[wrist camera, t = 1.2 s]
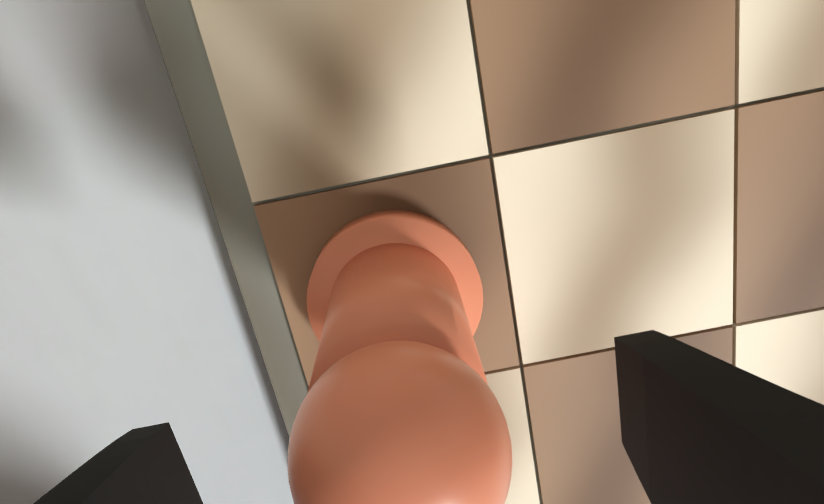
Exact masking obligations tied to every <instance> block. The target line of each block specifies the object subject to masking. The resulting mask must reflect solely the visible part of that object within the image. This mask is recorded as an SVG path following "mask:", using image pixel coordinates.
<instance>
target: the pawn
mask: <svg viewBox="0 0 824 504" xmlns="http://www.w3.org/2000/svg"><path fill="white" fill-rule="evenodd" d="M482 309H483V288H482V283H481V279H480V275H479V273H478V270H477V268H476V265H475V263H474V261H473V258H472V256H471V254H470V252H469V251H468V249H467V247H466V246H465V244H464V243H463V242H462V241H461V239H460V238H459V237H458V236H457V235H456V234H455V233H454V232H453V231H452V230H451V229H449V228H448V227H447V226H445V225H444V224H442V223H441V222H439V221H437V220H435V219H433V218H431V217H428V216H426V215H423V214H420V213H416V212H412V211H403V210H387V211H379V212H375V213H371V214H367V215H364V216H362V217H360V218H357V219H355V220H353V221H351V222H350V223H348V224H346V225H345V226H344V227H342V228H341V229H340V230H338V231H337V232H336V233H335V234H334V235H333V236H332V237H331V238H330V239H329V240H328V242H327V243H326V244H325V246H324V247H323V248H322V250H321V252H320V254H319V256H318V258H317V260H316V263H315V265H314V268H313V271H312V274H311V276H310V279H309V284H308V288H307V312H308V316H309V321H310V324H311V326H312V329H313V331H314V333H315V335H316V337H317V339H318V341H319V342H320V343H319V347H318V352H317V356H316V360H315V364H314V368H313V372H312V376H311V380H310V384H309V389H308V393H307V395H306V397H305V398H304V400H303V402H302V403H301V405H300V408H299V410H298V413H297V415H296V418H295V420H294V423H293V426H292V430H291V434H290V439H289V446H288V458H287V462H288V478H289V484H290V489H291V493H292V497H293V501H294V504H505V501H506V498H507V495H508V491H509V487H510V481H511V474H512V446H511V439H510V434H509V430H508V426H507V422H506V419H505V416H504V414H503V411H502V409H501V407H500V405H499V402H498V400H497V398H496V397H495V395H494V394H493V392H492V390H491V389H490V388H489V386H488V384H487V380H486V376H485V373H484V370H483V367H482V363H481V360H480V357H479V354H478V351H477V347H476V344H475V341H474V338H473V336H474V334H475V332H476V330H477V328H478V325H479V322H480V319H481V314H482Z"/></svg>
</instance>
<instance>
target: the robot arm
mask: <svg viewBox="0 0 824 504" xmlns="http://www.w3.org/2000/svg"><path fill="white" fill-rule="evenodd" d="M614 343H615V356H616V370H617V383H618V397H619V410H620V424H621V437H622V444H623V446H624V448H625V450H626V452H627V455H628V457H629V459H630V461H631V463H632V465H633V467H634V470H635V472H636V474H637V476H638V478H639V480H640V482H641V484H642V486H643V488H644V490H645V492H646V494H647V496H648V498H649V500H650V502H651V504H824V405H823V404H821V403H818V402H816V401H813V400H811V399H809V398H806V397H804V396H801V395H799V394H797V393H794V392H792V391H790V390H788V389H785V388H783V387H781V386H778V385H776V384H774V383H772V382H769V381H767V380H765V379H763V378H760V377H758V376H756V375H754V374H751V373H749V372H747V371H745V370H743V369H740V368H738V367H736V366H734V365H732V364H729V363H727V362H725V361H723V360H721V359H719V358H716V357H714V356H712V355H710V354H708V353H706V352H703V351H701V350H699V349H697V348H695V347H692V346H690V345H688V344H686V343H684V342H681V341H679V340H677V339H675V338H672V337H670V336H668V335H665V334H663V333H660V332H658V331H655V330H649V331H644V332H639V333H633V334H628V335H623V336H618V337H614ZM34 504H203V502H202V500H201V497H200V495H199V493H198V490H197V488H196V486H195V483H194V481H193V479H192V476H191V474H190V471H189V469H188V467H187V464H186V462H185V460H184V457H183V455H182V453H181V450H180V448H179V446H178V443H177V441H176V438H175V436H174V434H173V431H172V429H171V427H170V424H169V423H163V424H158V425H153V426H148V427H142V428H137V429H132V430H131V431H129V432H127V433H126V434H124V435H123V436H121V437H120V438H118V439H117V440H115V441H114V442H113V443H111V444H110V445H108V446H107V447H106V448H104V449H103V450H102V451H100V452H99V453H98V454H96V455H95V456H94V457H92V458H91V459H90V460H88V461H87V462H86V463H84V464H83V465H82V466H81V467H79V468H78V469H77V470H75V471H74V472H73V473H72V474H70V475H69V476H68V477H67V478H65V479H64V480H63V481H62V482H60V483H59V484H58V485H56V486H55V487H54V488H53V489H51V490H50V491H49V492H48V493H46V494H45V495H44V496H43V497H41V498H40V499H39V500H37V501H36V502H35V503H34Z"/></svg>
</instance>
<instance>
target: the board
mask: <svg viewBox="0 0 824 504" xmlns="http://www.w3.org/2000/svg"><path fill="white" fill-rule="evenodd" d="M144 2H145V5H146V8H147V11H148V14H149V17H150V20H151V23H152V26H153V29H154V32H155V35H156V38H157V41H158V44H159V47H160V50H161V53H162V56H163V59H164V62H165V65H166V68H167V71H168V74H169V77H170V80H171V83H172V86H173V89H174V92H175V95H176V98H177V101H178V104H179V107H180V110H181V113H182V116H183V119H184V122H185V125H186V128H187V131H188V134H189V137H190V140H191V143H192V146H193V149H194V152H195V155H196V158H197V161H198V164H199V167H200V170H201V173H202V176H203V179H204V182H205V185H206V188H207V191H208V194H209V198H210V201H211V204H212V207H213V210H214V213H215V216H216V219H217V222H218V225H219V228H220V231H221V234H222V237H223V240H224V243H225V246H226V249H227V252H228V255H229V258H230V261H231V264H232V267H233V270H234V273H235V276H236V279H237V282H238V285H239V288H240V291H241V294H242V297H243V300H244V303H245V306H246V309H247V312H248V315H249V318H250V321H251V324H252V327H253V330H254V333H255V336H256V339H257V342H258V345H259V348H260V351H261V354H262V357H263V360H264V363H265V366H266V369H267V372H268V375H269V378H270V381H271V384H272V387H273V390H274V393H275V396H276V399H277V402H278V405H279V408H280V411H281V414H282V417H283V420H284V423H285V426H286V429H287V432H288V435H289V438H290V434H291V430H292V426H293V423H294V420H295V418H296V415H297V413H298V410H299V408H300V405H301V403H302V402H303V400H304V398H305V397H306V395H307V393H308V389H309V384H310V380H311V376H312V372H313V368H314V364H315V360H316V356H317V352H318V347H319V343H320V342H319V341H318V339H317V337H316V335H315V333H314V331H313V329H312V326H311V324H310V321H309V316H308V312H307V288H308V284H309V279H310V276H311V274H312V271H313V268H314V265H315V263H316V260H317V258H318V256H319V254H320V252H321V250H322V248H323V247H324V246H325V244H326V243H327V242H328V240H329V239H330V238H331V237H332V236H333V235H334V234H335V233H336V232H337V231H338V230H340V229H341V228H342V227H344V226H345V225H346V224H348V223H350V222H351V221H353V220H355V219H357V218H360V217H362V216H364V215H367V214H371V213H375V212H379V211H387V210H403V211H412V212H416V213H420V214H423V215H426V216H428V217H431V218H433V219H435V220H437V221H439V222H441V223H442V224H444V225H445V226H447V227H448V228H449V229H451V230H452V231H453V232H454V233H455V234H456V235H457V236H458V237H459V238H460V239H461V241H462V242H463V243H464V244H465V246H466V247H467V249H468V251H469V252H470V254H471V256H472V258H473V261H474V263H475V265H476V268H477V270H478V273H479V275H480V279H481V283H482V288H483V309H482V314H481V319H480V322H479V325H478V328H477V330H476V332H475V334H474V336H473V338H474V341H475V344H476V347H477V351H478V354H479V357H480V360H481V363H482V367H483V370H484V373H485V376H486V380H487V384H488V386H489V388H490V389H491V390H492V392H493V394H494V395H495V397H496V398H497V400H498V402H499V405H500V407H501V409H502V411H503V414H504V416H505V419H506V422H507V426H508V430H509V434H510V439H511V446H512V474H511V481H510V487H509V491H508V495H507V498H506V501H505V504H651V502H650V500H649V498H648V496H647V494H646V492H645V490H644V488H643V486H642V484H641V482H640V480H639V478H638V476H637V474H636V472H635V470H634V467H633V465H632V463H631V461H630V459H629V457H628V455H627V452H626V450H625V448H624V446H623V444H622V437H621V424H620V410H619V397H618V383H617V370H616V356H615V343H614V337H618V336H623V335H628V334H633V333H639V332H644V331H649V330H655V331H658V332H660V333H663V334H665V335H668V336H670V337H672V338H675V339H677V340H679V341H681V342H684V343H686V344H688V345H690V346H692V347H695V348H697V349H699V350H701V351H703V352H706V353H708V354H710V355H712V356H714V357H716V358H719V359H721V360H723V361H725V362H727V363H729V364H732V365H734V366H736V367H738V368H740V369H743V370H745V371H747V372H749V373H751V374H754V375H756V376H758V377H760V378H763V379H765V380H767V381H769V382H772V383H774V384H776V385H778V386H781V387H783V388H785V389H788V390H790V391H792V392H794V393H797V394H799V395H801V396H804V397H806V398H809V399H811V400H813V401H816V402H818V403H821V404H823V405H824V0H144Z"/></svg>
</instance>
